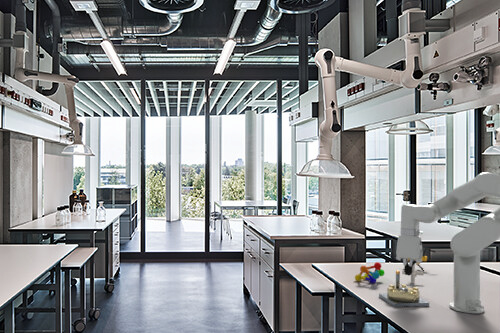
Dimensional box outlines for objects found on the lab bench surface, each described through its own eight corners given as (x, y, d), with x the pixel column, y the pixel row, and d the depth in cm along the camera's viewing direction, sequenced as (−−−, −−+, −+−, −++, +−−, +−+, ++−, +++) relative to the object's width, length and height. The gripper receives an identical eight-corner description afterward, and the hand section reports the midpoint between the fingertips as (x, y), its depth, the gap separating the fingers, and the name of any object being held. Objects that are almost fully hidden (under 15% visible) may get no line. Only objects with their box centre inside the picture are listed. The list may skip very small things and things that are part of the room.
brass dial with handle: (425, 301, 176) (425, 276, 176) (395, 302, 174) (396, 276, 174) (409, 293, 189) (410, 269, 189) (382, 293, 187) (382, 270, 187)
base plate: (429, 306, 175) (429, 301, 175) (394, 307, 173) (394, 302, 173) (410, 296, 190) (410, 292, 190) (378, 297, 188) (378, 292, 188)
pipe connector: (425, 286, 209) (425, 265, 209) (403, 284, 211) (404, 264, 211) (421, 281, 218) (421, 261, 219) (400, 280, 220) (401, 260, 221)
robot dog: (436, 272, 241) (436, 248, 242) (402, 269, 247) (402, 246, 247) (435, 270, 247) (435, 247, 247) (402, 268, 252) (402, 245, 253)
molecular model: (354, 289, 213) (379, 281, 204) (347, 271, 216) (371, 261, 207) (368, 284, 224) (393, 276, 215) (361, 267, 227) (385, 258, 218)
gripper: (430, 233, 184) (428, 276, 183) (395, 230, 193) (394, 270, 192) (425, 235, 178) (423, 279, 177) (389, 231, 187) (388, 273, 187)
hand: (408, 274), depth 185 cm, fingers closed
